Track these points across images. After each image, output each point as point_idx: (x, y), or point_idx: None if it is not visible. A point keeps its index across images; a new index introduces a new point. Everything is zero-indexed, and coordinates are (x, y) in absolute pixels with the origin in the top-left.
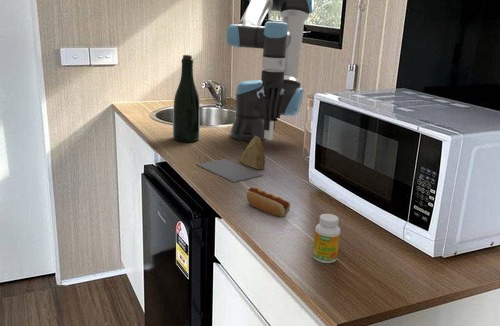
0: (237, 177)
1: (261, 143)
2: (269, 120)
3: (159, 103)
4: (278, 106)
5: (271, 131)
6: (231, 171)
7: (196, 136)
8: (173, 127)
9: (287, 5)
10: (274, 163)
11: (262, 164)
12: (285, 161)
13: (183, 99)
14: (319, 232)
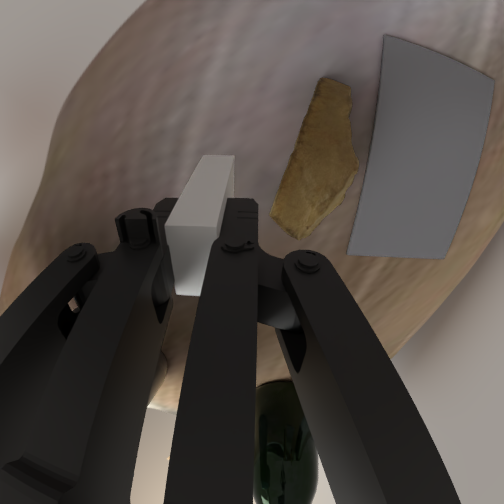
0: (467, 92)
1: (294, 165)
2: (238, 237)
3: None
4: (27, 368)
5: (211, 177)
6: (440, 144)
7: (276, 391)
8: None
9: None
10: (212, 109)
11: (333, 84)
12: (148, 108)
13: (312, 484)
14: None
